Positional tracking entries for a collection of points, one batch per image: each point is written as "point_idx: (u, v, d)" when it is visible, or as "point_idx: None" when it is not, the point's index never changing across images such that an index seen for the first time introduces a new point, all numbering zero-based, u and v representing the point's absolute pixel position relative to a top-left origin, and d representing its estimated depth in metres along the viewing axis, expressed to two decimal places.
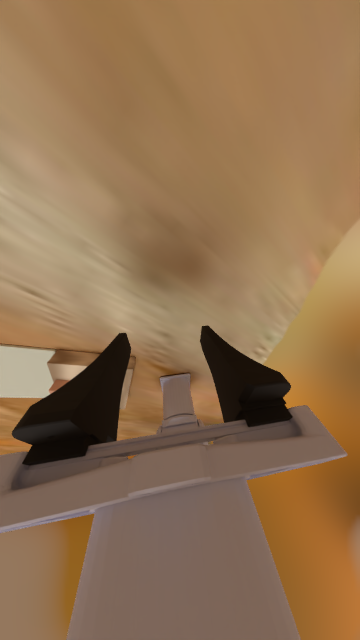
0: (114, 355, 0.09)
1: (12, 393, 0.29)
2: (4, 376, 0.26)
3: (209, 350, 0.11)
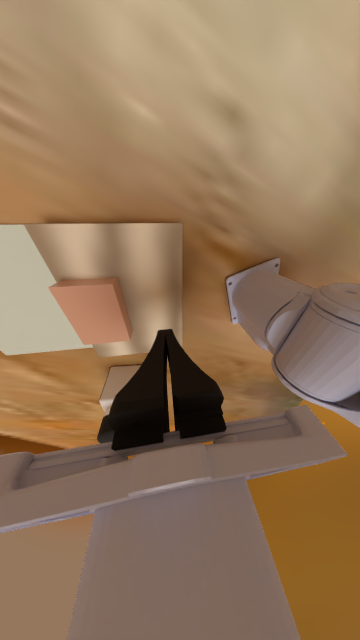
0: (164, 350, 0.10)
1: (33, 344, 0.22)
2: (6, 309, 0.18)
3: (168, 354, 0.11)
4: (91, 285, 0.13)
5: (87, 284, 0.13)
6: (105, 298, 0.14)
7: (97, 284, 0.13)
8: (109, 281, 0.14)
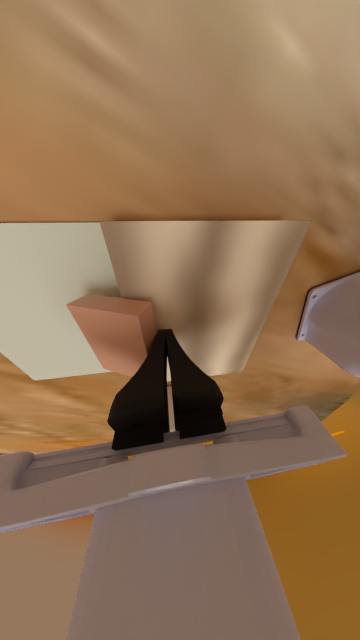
0: (164, 350, 0.10)
1: (68, 368, 0.18)
2: (43, 330, 0.14)
3: None
4: (111, 311, 0.09)
5: (108, 308, 0.09)
6: (127, 331, 0.09)
7: (118, 312, 0.09)
8: (137, 308, 0.09)
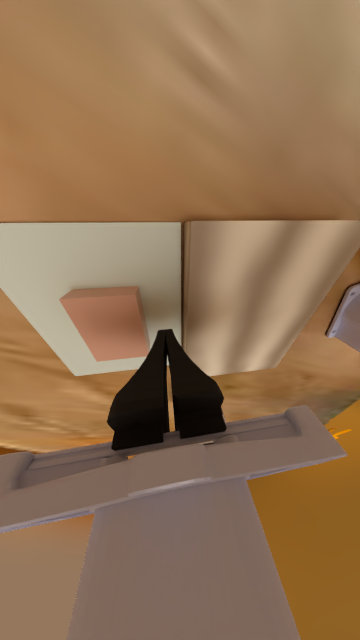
0: (164, 350, 0.10)
1: (109, 364, 0.19)
2: None
3: (168, 354, 0.11)
4: (95, 289, 0.12)
5: (99, 289, 0.12)
6: None
7: (88, 289, 0.12)
8: (73, 293, 0.11)
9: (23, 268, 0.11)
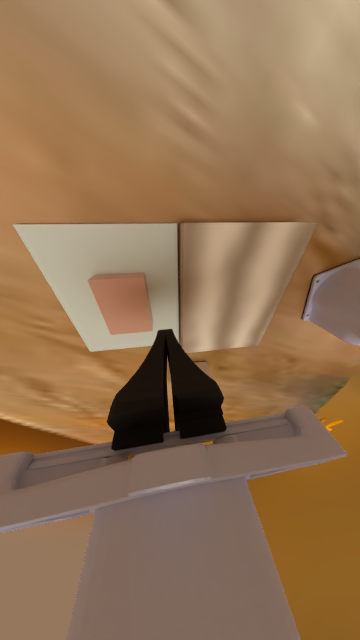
0: (164, 350, 0.10)
1: (118, 340, 0.22)
2: None
3: (168, 354, 0.11)
4: (112, 274, 0.16)
5: (115, 274, 0.16)
6: None
7: (107, 274, 0.16)
8: (96, 276, 0.15)
9: (61, 257, 0.14)
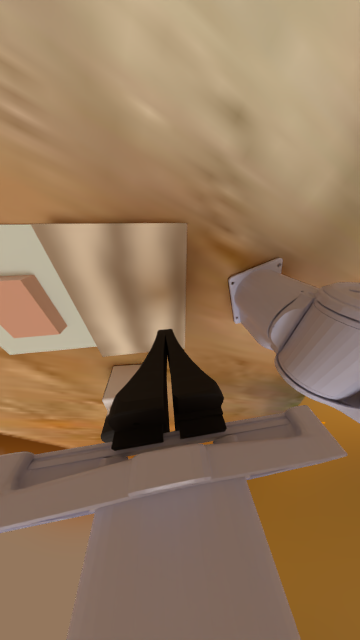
0: (164, 350, 0.10)
1: (37, 343, 0.22)
2: None
3: (168, 354, 0.11)
4: None
5: None
6: None
7: None
8: None
9: None
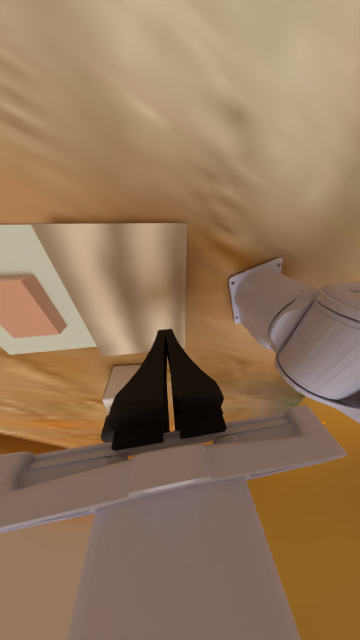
0: (164, 350, 0.10)
1: (37, 343, 0.22)
2: None
3: (168, 354, 0.11)
4: None
5: None
6: None
7: None
8: None
9: None
